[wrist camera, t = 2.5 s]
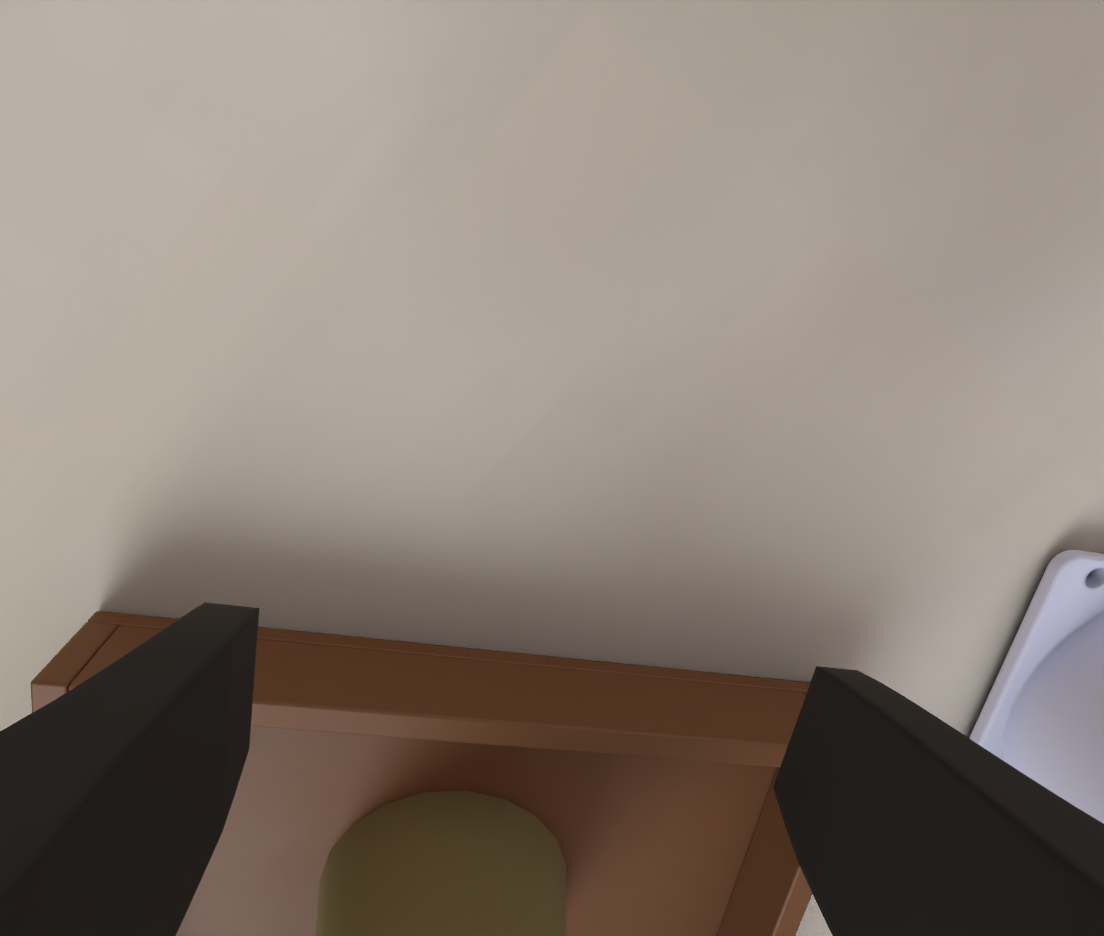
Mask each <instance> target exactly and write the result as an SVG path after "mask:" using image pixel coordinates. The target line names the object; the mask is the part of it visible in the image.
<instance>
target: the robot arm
mask: <svg viewBox="0 0 1104 936" xmlns="http://www.w3.org/2000/svg"><path fill="white" fill-rule="evenodd" d="M1091 571H1092V572H1091ZM1090 572H1091V574H1090V575H1089V576H1088V574H1089V573H1090ZM1087 576H1088V577H1087ZM1086 577H1087V578H1086ZM258 618H259V608H251V607H242V606H232V605H223V604H213V603H204V604H202V605H200V606H199V607H197V608H195V609H194V610H192V611H191V612H189V613H188V614H186V615H185V616H183V617H182V618H180V619H179V620H177V621H176V622H174V623H173V624H171V625H170V626H168V627H167V628H165V629H164V630H162V631H161V632H159V633H158V634H156V635H155V636H153V637H152V638H150V639H149V640H147V641H146V642H144V643H143V644H141V645H140V646H138V647H137V648H135V649H134V650H132V651H131V652H129V653H127V654H126V655H124V656H123V657H121V658H120V659H118V660H117V661H115V662H114V663H112V664H111V665H109V666H107V667H106V668H104V669H103V670H101V671H100V672H98V673H97V674H95V675H93V676H92V677H90V678H89V679H87V680H86V681H84V682H83V683H81V684H79V685H78V686H76V687H75V688H73V689H72V690H70V691H68V692H67V693H65V694H64V695H62V696H60V697H59V698H57V699H55V700H54V701H52V702H50V703H49V704H47V705H45V706H43V707H42V708H40V709H38V710H37V711H35V712H33V713H31V714H30V715H28V716H26V717H25V718H23V719H21V720H19V721H18V722H16V723H14V724H13V725H11V726H9V727H7V728H6V729H4V730H2V731H0V936H176V934H177V932H178V930H179V928H180V925H181V923H182V921H183V919H184V917H185V914H186V912H187V910H188V908H189V906H190V903H191V901H192V899H193V897H194V895H195V892H196V890H197V888H198V886H199V883H200V881H201V879H202V877H203V875H204V872H205V870H206V868H207V866H208V863H209V861H210V859H211V857H212V855H213V852H214V850H215V848H216V845H217V843H218V841H219V839H220V836H221V834H222V832H223V829H224V826H225V823H226V820H227V817H228V814H229V811H230V808H231V805H232V802H233V799H234V796H235V793H236V790H237V786H238V783H239V780H240V777H241V774H242V771H243V767H244V764H245V761H246V758H247V755H248V752H249V745H250V731H251V717H252V703H253V689H254V675H255V660H256V646H257V632H258ZM773 789H774V792H775V795H776V798H777V801H778V805H779V808H780V811H781V814H782V817H783V820H784V824H785V827H786V830H787V833H788V835H789V838H790V841H791V844H792V847H793V849H794V852H795V855H796V858H797V860H798V863H799V865H800V868H801V870H802V872H803V874H804V876H805V878H806V881H807V883H808V885H809V887H810V889H811V891H812V893H813V895H814V897H815V900H816V902H817V904H818V906H819V908H820V910H821V912H822V914H823V916H824V918H825V920H826V923H827V925H828V927H829V929H830V931H831V933H832V935H833V936H1104V554H1102V553H1095V552H1088V551H1081V550H1066V551H1064V552H1061V553H1059V554H1058V555H1056V556H1055V557H1054V558H1053V559H1052V560H1051V561H1050V563H1049V564H1048V566H1047V568H1046V570H1045V573H1044V575H1043V577H1042V579H1041V581H1040V584H1039V586H1038V588H1037V590H1036V592H1035V595H1034V597H1033V599H1032V601H1031V603H1030V606H1029V608H1028V610H1027V612H1026V614H1025V617H1024V619H1023V621H1022V623H1021V625H1020V628H1019V630H1018V632H1017V634H1016V636H1015V639H1014V641H1013V643H1012V645H1011V647H1010V650H1009V652H1008V654H1007V656H1006V658H1005V661H1004V663H1003V665H1002V667H1001V669H1000V672H999V674H998V676H997V678H996V680H995V682H994V685H993V687H992V689H991V691H990V693H989V696H988V698H987V700H986V702H985V704H984V707H983V709H982V711H981V713H980V715H979V718H978V720H977V722H976V724H975V726H974V729H973V731H972V733H971V735H970V737H969V738H968V737H966V736H965V735H963V734H962V733H960V732H959V731H957V730H955V729H954V728H952V727H951V726H949V725H948V724H946V723H945V722H943V721H942V720H940V719H939V718H937V717H935V716H934V715H932V714H931V713H929V712H928V711H926V710H925V709H923V708H921V707H920V706H918V705H917V704H915V703H913V702H912V701H910V700H909V699H907V698H905V697H904V696H902V695H901V694H899V693H897V692H896V691H894V690H892V689H891V688H889V687H887V686H886V685H884V684H882V683H880V682H878V681H877V680H875V679H873V678H871V677H869V676H867V675H865V674H863V673H861V672H859V671H857V670H847V669H837V668H828V667H818V666H816V669H815V672H814V675H813V677H812V680H811V683H810V686H809V688H808V691H807V694H806V697H805V700H804V702H803V705H802V708H801V711H800V713H799V716H798V719H797V722H796V725H795V727H794V730H793V733H792V736H791V738H790V741H789V744H788V747H787V750H786V752H785V755H784V758H783V761H782V763H781V766H780V769H779V772H778V775H777V777H776V780H775V783H774V786H773Z"/></svg>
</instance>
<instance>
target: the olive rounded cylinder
mask: <svg viewBox="0 0 1104 936" xmlns="http://www.w3.org/2000/svg"><path fill="white" fill-rule="evenodd" d="M316 936H566V863H565V861H564V858H563V855H562V852H561V850H560V847H559V844H558V841H557V839H556V837H555V836H554V835H553V834H552V833H551V832H550V831H549V830H548V829H547V827H546V826H545V825H544V824H543V823H542V822H541V821H540V820H539V819H538V818H537V817H536V816H535V815H534V814H532V813H531V812H529V811H527V810H525V809H523V808H521V807H519V806H517V805H515V804H514V803H512V802H510V801H508V800H506V799H504V798H501V797H496V796H491V795H486V794H481V793H477V792H472V791H467V790H457V791H436V792H423V793H420V794H416V795H413V796H410V797H406V798H403V799H400V800H396V801H393V802H390V803H386V804H384V805H383V806H381V807H379V808H378V809H376V810H375V811H373V812H371V813H370V814H368V815H367V816H365V817H363V818H362V819H360V820H359V821H357V822H355V823H354V824H352V825H351V827H350V828H349V829H348V830H347V831H346V833H345V834H344V835H343V836H342V837H341V838H340V840H339V841H338V842H337V843H336V844H335V845H334V847H333V848H332V849H331V850H330V852H329V855H328V858H327V861H326V863H325V866H324V869H323V872H322V875H321V878H320V882H319V896H318V911H317V925H316Z"/></svg>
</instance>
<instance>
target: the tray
mask: <svg viewBox="0 0 1104 936" xmlns="http://www.w3.org/2000/svg"><path fill="white" fill-rule="evenodd" d="M177 620H179V619H170V618H160V617H150V616H140V615H130V614H120V613H110V612H100V611H98V612H96V613H95V614H94V615H93V616H92V617H91V618H90V619H89V620H88V622H87V623H85V625H84V626H83V627H82V628H81V629H80V630H79V631H78V632H77V633H76V634H75V635H74V636H73V637H72V639H71V640H70V641H69V642H68V643H67V644H66V645H65V646H64V647H63V648H62V649H61V650H60V651H59V653H58V654H57V655H56V656H55V657H54V658H53V659H52V660H51V661H50V662H49V663H48V664H47V665H46V667H45V668H44V669H43V670H42V671H41V672H40V673H39V674H38V675H37V676H36V677H35V678H34V680H33V681H32V682H31V698H32V713H33V712H35V711H37V710H38V709H40V708H42V707H43V706H45V705H47V704H49V703H50V702H52V701H54V700H55V699H57V698H59V697H60V696H62V695H64V694H65V693H67V692H68V691H70V690H72V689H73V688H75V687H76V686H78V685H79V684H81V683H83V682H84V681H86V680H87V679H89V678H90V677H92V676H93V675H95V674H97V673H98V672H100V671H101V670H103V669H104V668H106V667H107V666H109V665H111V664H112V663H114V662H115V661H117V660H118V659H120V658H121V657H123V656H124V655H126V654H127V653H129V652H131V651H132V650H134V649H135V648H137V647H138V646H140V645H141V644H143V643H144V642H146V641H147V640H149V639H150V638H152V637H153V636H155V635H156V634H158V633H159V632H161V631H162V630H164V629H165V628H167V627H168V626H170V625H171V624H173V623H174V622H176V621H177ZM809 686H810V683H808V682H798V681H788V680H778V679H768V678H758V677H748V676H738V675H728V674H718V673H708V672H698V671H688V670H678V669H668V668H658V667H648V666H638V665H629V664H619V663H609V662H599V661H589V660H579V659H569V658H559V657H549V656H539V655H529V654H519V653H509V652H499V651H489V650H479V649H469V648H459V647H449V646H439V645H429V644H419V643H409V642H399V641H389V640H379V639H369V638H359V637H349V636H339V635H330V634H320V633H310V632H300V631H290V630H280V629H270V628H260V627H258V632H257V646H256V660H255V675H254V689H253V703H252V717H251V731H250V745H249V752H248V755H247V758H246V761H245V764H244V767H243V771H242V774H241V777H240V780H239V783H238V786H237V790H236V793H235V796H234V799H233V802H232V805H231V808H230V811H229V814H228V817H227V820H226V823H225V826H224V829H223V832H222V834H221V836H220V839H219V841H218V843H217V845H216V848H215V850H214V852H213V855H212V857H211V859H210V861H209V863H208V866H207V868H206V870H205V872H204V875H203V877H202V879H201V881H200V883H199V886H198V888H197V890H196V892H195V895H194V897H193V899H192V901H191V903H190V906H189V908H188V910H187V912H186V914H185V917H184V919H183V921H182V923H181V925H180V928H179V930H178V932H177V934H176V936H316V925H317V911H318V896H319V882H320V878H321V875H322V872H323V869H324V866H325V863H326V861H327V858H328V855H329V852H330V850H331V849H332V848H333V847H334V845H335V844H336V843H337V842H338V841H339V840H340V838H341V837H342V836H343V835H344V834H345V833H346V831H347V830H348V829H349V828H350V827H351V825H352V824H354V823H355V822H357V821H359V820H360V819H362V818H363V817H365V816H367V815H368V814H370V813H371V812H373V811H375V810H376V809H378V808H379V807H381V806H383V805H384V804H386V803H390V802H393V801H396V800H400V799H403V798H406V797H410V796H413V795H416V794H420V793H423V792H436V791H457V790H467V791H472V792H477V793H481V794H486V795H491V796H496V797H501V798H504V799H506V800H508V801H510V802H512V803H514V804H515V805H517V806H519V807H521V808H523V809H525V810H527V811H529V812H531V813H532V814H534V815H535V816H536V817H537V818H538V819H539V820H540V821H541V822H542V823H543V824H544V825H545V826H546V827H547V829H548V830H549V831H550V832H551V833H552V834H553V835H554V836H555V837H556V839H557V841H558V844H559V847H560V850H561V852H562V855H563V858H564V861H565V863H566V936H795V935H796V932H797V930H798V927H799V925H800V922H801V920H802V917H803V915H804V912H805V910H806V907H807V905H808V902H809V900H810V898H811V895H812V891H811V889H810V887H809V885H808V883H807V881H806V878H805V876H804V874H803V872H802V870H801V868H800V865H799V863H798V860H797V858H796V855H795V852H794V849H793V847H792V844H791V841H790V838H789V835H788V833H787V830H786V827H785V824H784V820H783V817H782V814H781V811H780V808H779V805H778V801H777V798H776V795H775V792H774V789H773V786H774V783H775V780H776V777H777V775H778V772H779V769H780V766H781V763H782V761H783V758H784V755H785V752H786V750H787V747H788V744H789V741H790V738H791V736H792V733H793V730H794V727H795V725H796V722H797V719H798V716H799V713H800V711H801V708H802V705H803V702H804V700H805V697H806V694H807V691H808V688H809Z"/></svg>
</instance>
